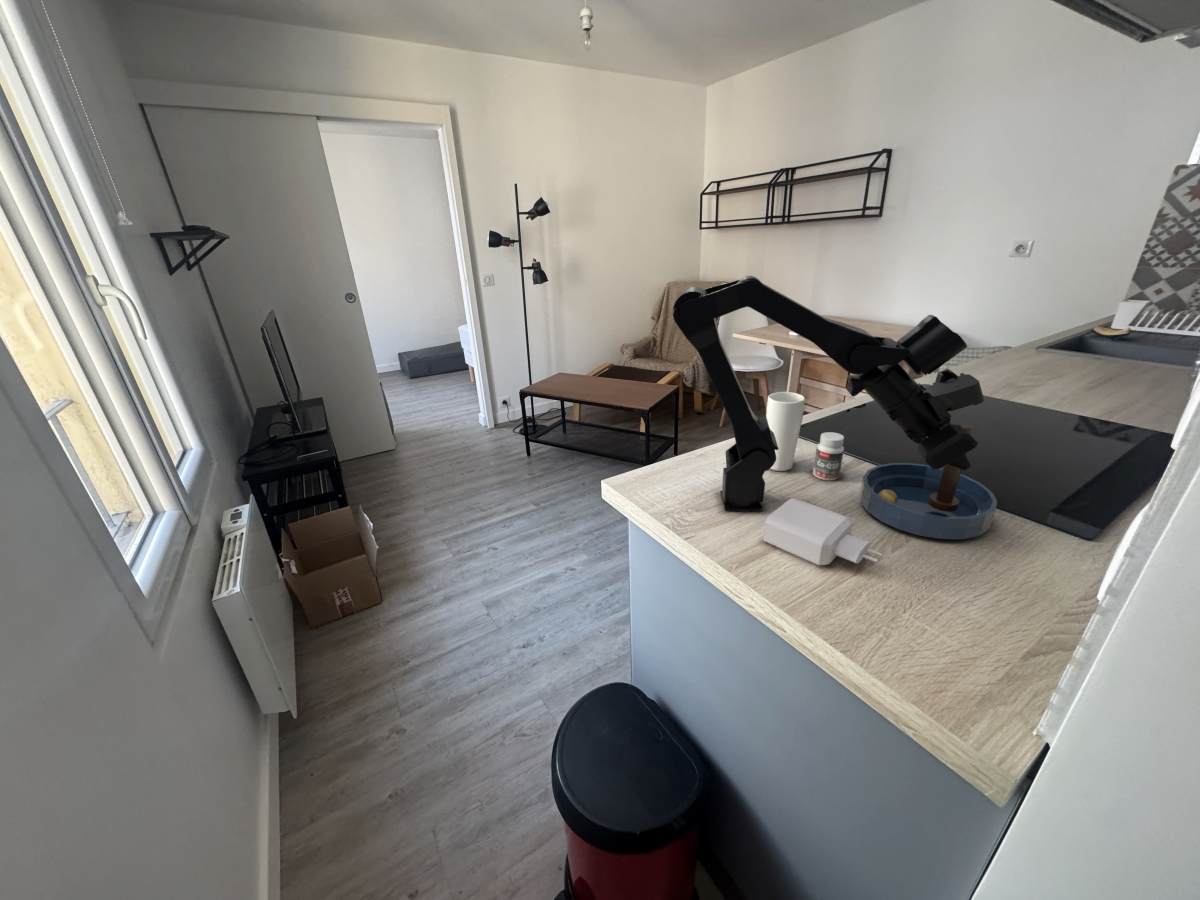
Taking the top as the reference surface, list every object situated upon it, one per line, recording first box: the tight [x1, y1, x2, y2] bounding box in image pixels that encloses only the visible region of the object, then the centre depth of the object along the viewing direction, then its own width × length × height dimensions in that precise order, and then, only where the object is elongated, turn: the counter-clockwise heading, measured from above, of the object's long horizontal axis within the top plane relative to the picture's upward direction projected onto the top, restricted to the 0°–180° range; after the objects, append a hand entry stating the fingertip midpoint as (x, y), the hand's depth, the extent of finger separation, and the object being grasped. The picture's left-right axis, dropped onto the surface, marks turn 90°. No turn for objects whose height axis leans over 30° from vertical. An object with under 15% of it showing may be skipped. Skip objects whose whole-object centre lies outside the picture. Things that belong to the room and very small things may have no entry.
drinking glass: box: [765, 391, 806, 472], centre depth 93 cm, size 7×7×15 cm
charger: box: [763, 497, 884, 566], centre depth 70 cm, size 5×9×15 cm
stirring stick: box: [928, 422, 975, 512], centre depth 73 cm, size 4×4×14 cm
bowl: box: [859, 462, 998, 540], centre depth 78 cm, size 18×18×4 cm
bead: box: [878, 490, 898, 504], centre depth 79 cm, size 3×3×3 cm
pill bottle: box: [812, 431, 845, 481], centre depth 90 cm, size 5×5×8 cm
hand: (964, 464), depth 73 cm, fingers closed on stirring stick, 2 cm apart
